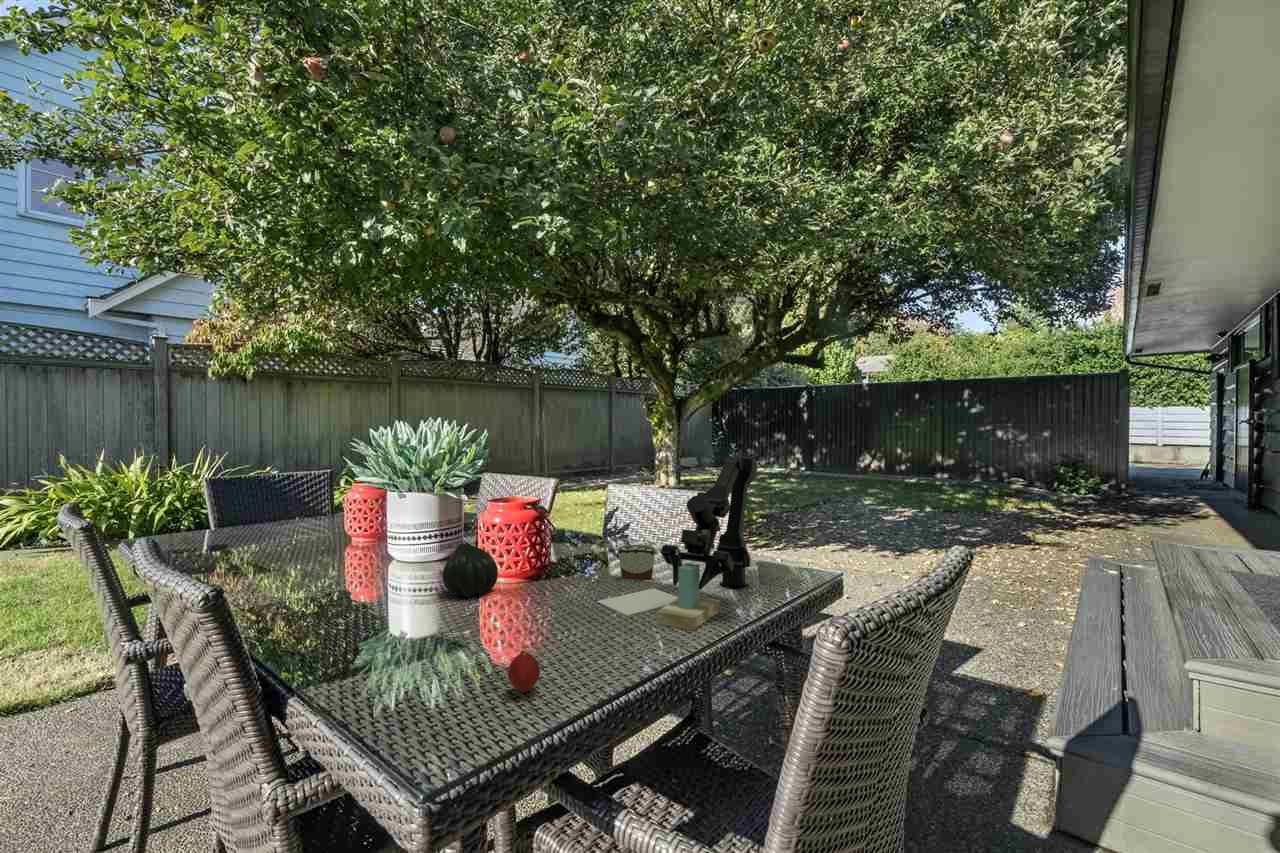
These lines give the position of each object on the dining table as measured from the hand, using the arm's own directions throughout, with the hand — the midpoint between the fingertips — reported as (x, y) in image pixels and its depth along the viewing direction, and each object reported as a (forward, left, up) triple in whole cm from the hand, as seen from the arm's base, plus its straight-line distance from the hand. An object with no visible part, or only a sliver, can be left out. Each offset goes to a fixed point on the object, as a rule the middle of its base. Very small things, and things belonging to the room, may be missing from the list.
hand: (686, 586), depth 153 cm
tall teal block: (-1, -1, -5) cm, 5 cm away
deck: (-1, -1, -8) cm, 8 cm away
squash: (+35, -54, -8) cm, 64 cm away
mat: (+1, -18, -8) cm, 19 cm away
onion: (+51, +11, -8) cm, 53 cm away
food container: (-13, -38, -8) cm, 41 cm away
